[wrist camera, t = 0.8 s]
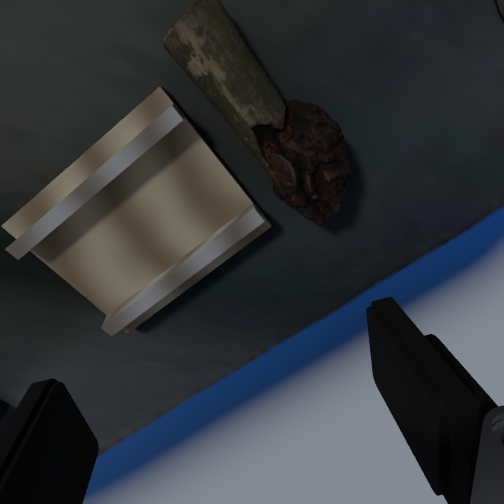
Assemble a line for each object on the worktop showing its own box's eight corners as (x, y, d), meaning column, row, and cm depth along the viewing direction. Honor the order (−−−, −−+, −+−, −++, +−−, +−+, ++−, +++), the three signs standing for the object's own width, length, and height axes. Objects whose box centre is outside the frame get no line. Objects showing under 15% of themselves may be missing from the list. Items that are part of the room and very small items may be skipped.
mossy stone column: (163, 46, 27) (153, 36, 22) (234, -19, 26) (241, -46, 21) (297, 221, 34) (314, 245, 29) (359, 175, 33) (387, 191, 28)
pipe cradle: (161, 86, 28) (156, 86, 25) (269, 221, 33) (275, 234, 31) (8, 221, 31) (-13, 235, 28) (130, 325, 36) (123, 346, 33)
